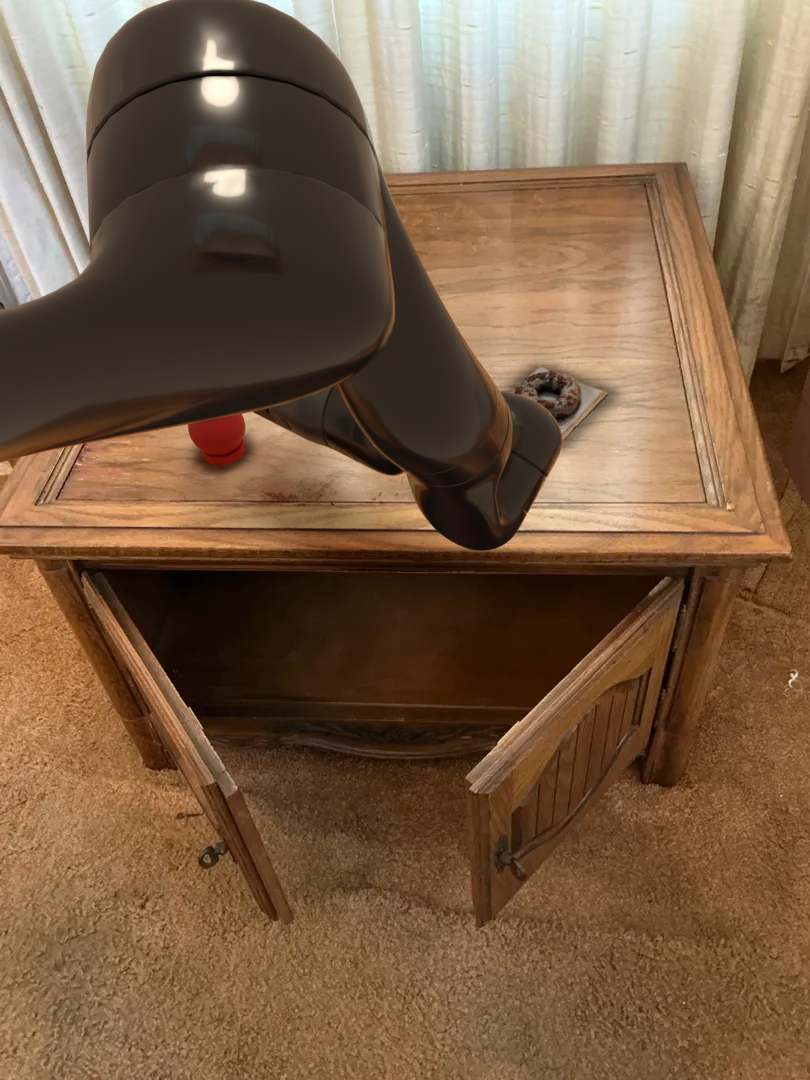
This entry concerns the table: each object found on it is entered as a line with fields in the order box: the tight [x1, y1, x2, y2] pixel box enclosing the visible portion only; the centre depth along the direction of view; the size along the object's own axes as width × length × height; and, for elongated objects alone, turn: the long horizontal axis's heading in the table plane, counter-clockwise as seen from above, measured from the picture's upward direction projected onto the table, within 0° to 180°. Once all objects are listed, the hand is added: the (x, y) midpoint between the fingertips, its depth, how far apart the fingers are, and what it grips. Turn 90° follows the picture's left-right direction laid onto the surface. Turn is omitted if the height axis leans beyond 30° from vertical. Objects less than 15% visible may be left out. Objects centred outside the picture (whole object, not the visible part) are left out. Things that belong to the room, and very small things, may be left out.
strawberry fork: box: [187, 414, 246, 467], centre depth 75 cm, size 5×5×16 cm
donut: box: [512, 366, 609, 440], centre depth 81 cm, size 8×8×2 cm
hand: (159, 313), depth 71 cm, fingers closed on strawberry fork
